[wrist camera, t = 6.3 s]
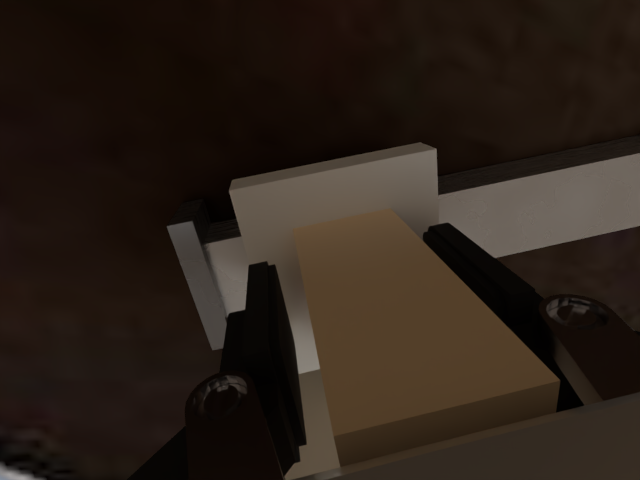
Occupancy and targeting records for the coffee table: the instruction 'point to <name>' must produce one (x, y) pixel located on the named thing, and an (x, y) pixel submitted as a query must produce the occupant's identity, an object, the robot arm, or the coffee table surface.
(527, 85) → the coffee table surface
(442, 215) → the rail
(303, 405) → the white cube box
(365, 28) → the coffee table surface
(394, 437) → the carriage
